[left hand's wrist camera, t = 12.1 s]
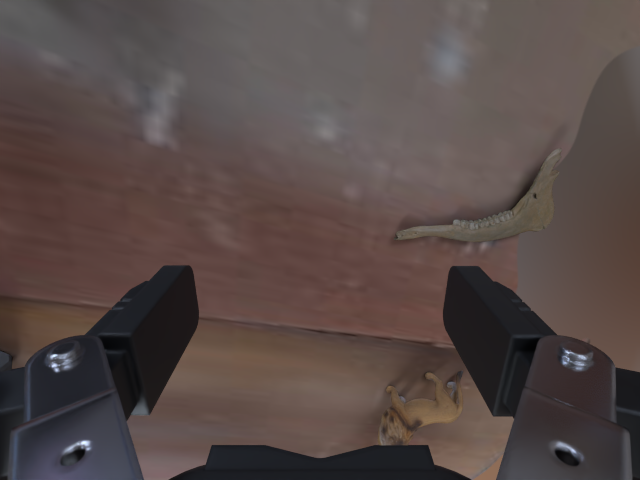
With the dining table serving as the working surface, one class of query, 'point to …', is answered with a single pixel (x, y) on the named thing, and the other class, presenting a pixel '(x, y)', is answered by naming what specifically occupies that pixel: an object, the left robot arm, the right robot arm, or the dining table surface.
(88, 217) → the dining table surface
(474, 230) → the jawbone
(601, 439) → the left robot arm
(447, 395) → the lion figurine
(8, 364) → the handheld gaming console
